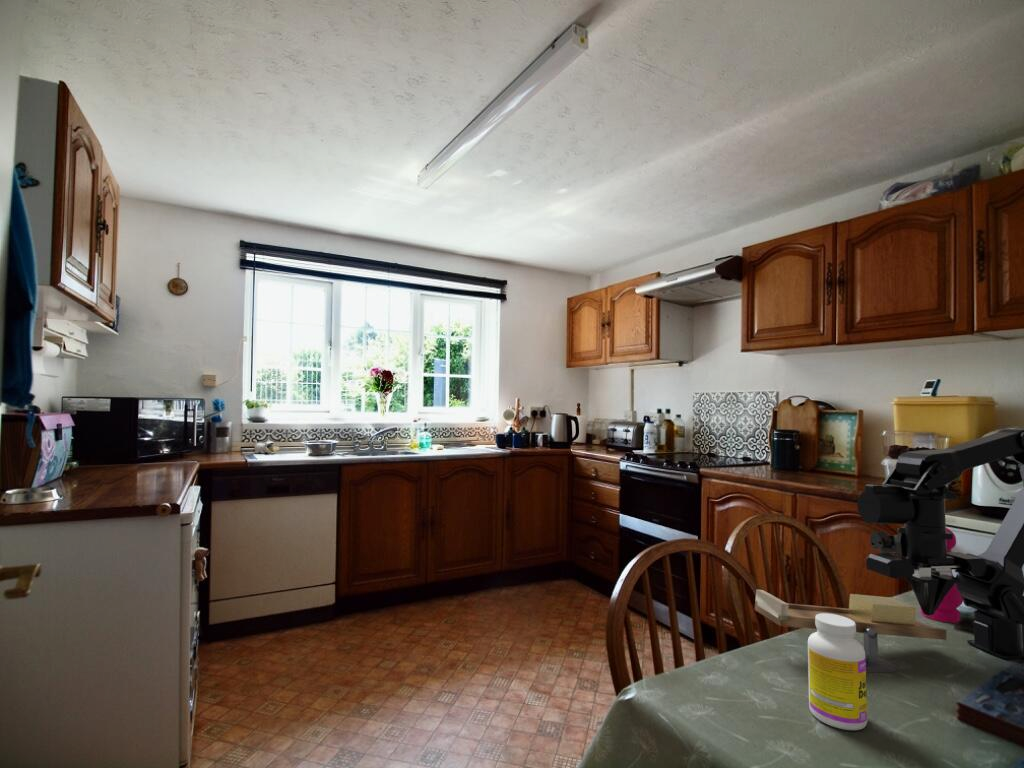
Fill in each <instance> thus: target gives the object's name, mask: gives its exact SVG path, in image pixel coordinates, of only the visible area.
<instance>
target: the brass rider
mask: <svg viewBox="0 0 1024 768" xmlns="http://www.w3.org/2000/svg"><path fill="white" fill-rule="evenodd" d="M848 603H849V604H848V609H849V614H850V615H852V616H854V617H856V618H858V619H860V620H862V621H864V622H872V623H884V624H895V625H907V626H915V620H916V612H917V610H916V609H917V608H916V607H915V606H912V605H910V604H908V603H905V602H902V601H900V600H898V599H895V598H893V597H888V596H880V595H879V596H878V595H868V594H866V595H865V594H858V593H857V594H856V593H849V602H848Z"/></svg>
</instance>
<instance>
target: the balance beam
mask: <svg viewBox="0 0 1024 768" xmlns="http://www.w3.org/2000/svg"><path fill="white" fill-rule="evenodd" d="M754 602H755V603H754V611H755V612H757V613H759V614H760V615H762V616H763V617H765V618H766V619H768V620H770V621H771V622H773V623H775V624H776V625H778V626H779V627H787V628H789V627H790V628H799V629H811V630H817V628H816V625H815V616H816V615H817V614H821V613H828V614H835V615H840V616H843V617H846V618H849V619H851V620H853V621H854V622H855V624H856V633H859V634H863V632H864V628H865V627H870V628H872V629H874V630H875V631H876V632H877V635H882V636H883V635H884V636H895V637H906V638H907V637H908V638H910V637H911V638H919V639H933V640H944V641H947V633H948V630H947V629H945V628H941V627H932V626H929V625H927V624H926V623H923V622H921V621H918V620H916V619H915V626H907V625H895V624H884V623H872V622H864V621H862V620H860V619H858V618H856V617H854V616H852V615H850V614H849V608H845V607H844V608H843V607H832V606H828V607H826V606H821V605H820V606H819V605H810V604H797V603H787V602H785V601H783V600H782V599H780V598H778V597H776V596H775V595H773V594H771V593H769V592H767V591H765V590H763V589H756V591H755V601H754Z"/></svg>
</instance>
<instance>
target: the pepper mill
mask: <svg viewBox="0 0 1024 768" xmlns="http://www.w3.org/2000/svg"><path fill="white" fill-rule="evenodd" d="M946 532H949V533H953V539H946V544H947V552H953V548H955V547H956V545H957V538H956V537H957V536H956V535H955V533H954V532H953V531H952V530H951V529H949V528H948V527H946ZM951 572H952V576H953V577H955V576H954V574H953V570H951ZM963 603H964V602H963V600H962V597H961V594H960V593H959V591H958V590H957V586H956V584H954V585H953V586H952V588H951V589H950V590H949V592H948V593H947V594H946V596H945V597H944V599H943V600H942V602H941V603H940V605H939V607H938V608H937V610H936V611H935V613H934V614H933V616H928V615H925V614H924V613H923V611H922V609H921V608H920V614H921V615H922V616H923V617H925V618H928V619H929V620H934V621H937V622H941V623H942V622H943V623H951V624H952V623H953V624H956V623H960V622H961V611H960V610H959V609H957V608H959V607H960V606H961V605H962V604H963ZM959 621H960V622H959Z"/></svg>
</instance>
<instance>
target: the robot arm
mask: <svg viewBox="0 0 1024 768" xmlns="http://www.w3.org/2000/svg"><path fill="white" fill-rule="evenodd" d="M1009 457H1010V458H1011V459H1012V461H1015V462H1016V463H1018V464H1020V465H1021V466H1020V468H1019V473H1020V476H1021V479H1022V481H1021V482H1022V487H1021V488H1020V490H1019V492H1018V494H1017V496H1016V497H1015V499H1014V501H1013V503H1012V504H1011V506H1010V508H1009V510H1008V511H1007V513H1006V515H1005V517H1004V518H1003V520H1002V522H1001V524H1000V526H999V528H998V529H997V531H996V532H995V535H994V536H993V538H992V540H991V542H990V544H989V545H988V547H987V548H986V550H984V552H982V553H980V554H978V555H975V554H972V553H969V552H968V553H967V552H966V553H963V552H960V551H952V552H947V544H946V539H953V533H954V532H953V533H949V532H946V528H947V527H946V526H947V523H946V522H947V521H946V520H947V519H946V500H957V499H958V495H957V494H955V493H954V492H952V491H951V490H950V489H949V488H948V487H947V485H948V484H950V483H952V482H954V481H956V480H958V479H959V478H960V477H961V475H962V473H964V472H966V471H967V470H971V469H974V468H976V467H980V466H983V465H986V464H990V463H992V462H996V461H1000V460H1002V459H1005V458H1009ZM864 489H865V491H863V492H861V493H860V495H859V497H858V500H857V501H856V507H857V513H858V514H859V516H860V518H861V519H862V520H863V521H864V522H865V523H867V524H869V525H904V526H898V528H897V534H894V535H888V534H887V533H886V531H885V530H882V531H880V530H877V531H871V532H870V535H869V537H870V538H869V542H870V545H871V548H872V549H873V550H874V551H877V550H879V551H880V553H870V554H868V555H867V557H866V561H865V562H866V565H865V566H866V570H869V571H871V572H875V573H876V574H880V575H883V576H886V577H888V578H892V579H905V580H906V581H907V582H908V583H909V585H910V587H911V589H912V591H913V593H914V595H915V597H916V600H917V602H918V604H919V607H920V610H921V609H922V611H923V613H924V614H925V615H928V616H933V614H934V613H935V611H936V610H937V608H938V607H939V605H940V603H941V602H942V600H943V599H944V597H945V596H946V594H947V593H948V592H949V590H950V589H951V588H952V586H953V585H954V584H956V586H957V590H958V591H959V593H960V594H961V597H962V600H963V602H962V603H963V605H964V606H966V607H969V608H972V609H975V610H974V620H973V638H974V639H967V640H966V642H967V644H969V645H972V646H974V647H976V648H978V649H980V650H983V651H985V652H987V653H988V654H989V653H990V654H992V655H993V656H996V657H998V658H1001V659H1004V660H1010V659H1024V658H1023V657H1024V653H1023V648H1024V571H1023V567H1024V428H1003V429H1000V430H999V431H997V432H994V433H992V434H988V435H985V436H982V437H979V438H975V439H972V440H968V441H966V442H962V443H959V444H956V445H953V446H949V447H945V448H940V449H938V448H937V449H921V450H913V451H911V450H910V451H906V452H903V453H901V454H900V455H898V457H897V461H896V464H895V465H894V466H893V468H892V469H891V470H890V472H889V474H888V475H887V477H886V478H885V480H884V481H883V482H882V483H881V485H878V484H873V483H869V484H868V483H867V484H865V486H864ZM951 570H952V572H951ZM953 570H954V572H955V573H956V575H955V576H954V575H953V576H954V577H953V576H952V573H953Z"/></svg>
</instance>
